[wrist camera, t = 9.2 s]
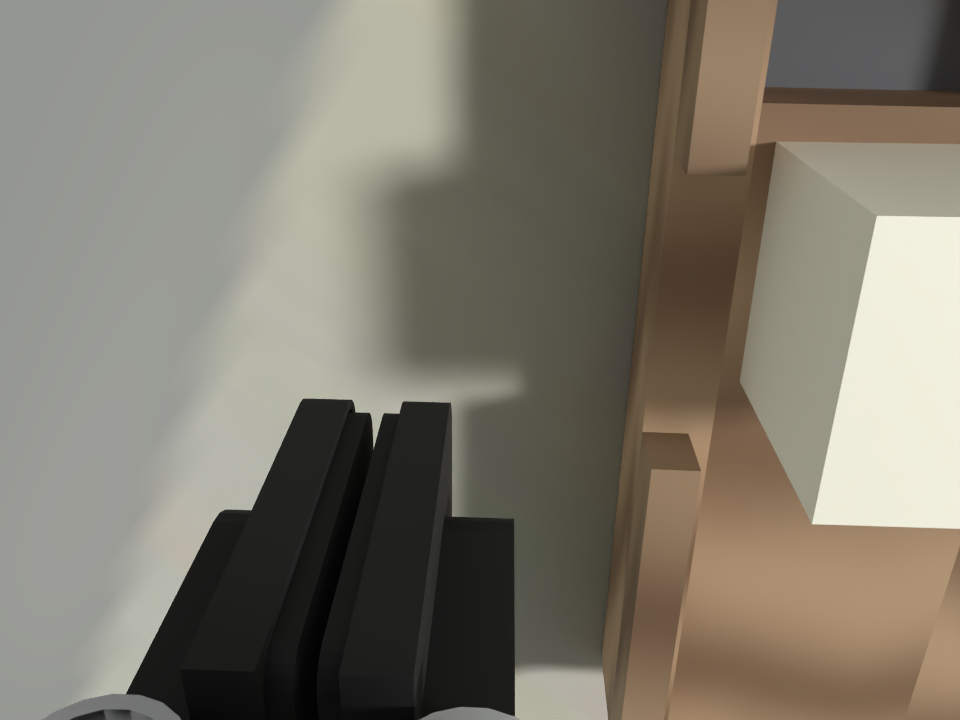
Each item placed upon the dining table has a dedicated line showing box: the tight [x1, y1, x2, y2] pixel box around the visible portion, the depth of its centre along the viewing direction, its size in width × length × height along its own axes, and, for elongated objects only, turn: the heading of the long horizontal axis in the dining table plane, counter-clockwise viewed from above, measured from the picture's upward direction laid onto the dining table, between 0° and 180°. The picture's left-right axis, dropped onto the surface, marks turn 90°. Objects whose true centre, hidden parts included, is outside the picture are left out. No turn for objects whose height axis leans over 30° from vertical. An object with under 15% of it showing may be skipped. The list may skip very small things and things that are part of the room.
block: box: [740, 142, 960, 529], centre depth 15 cm, size 5×5×5 cm
